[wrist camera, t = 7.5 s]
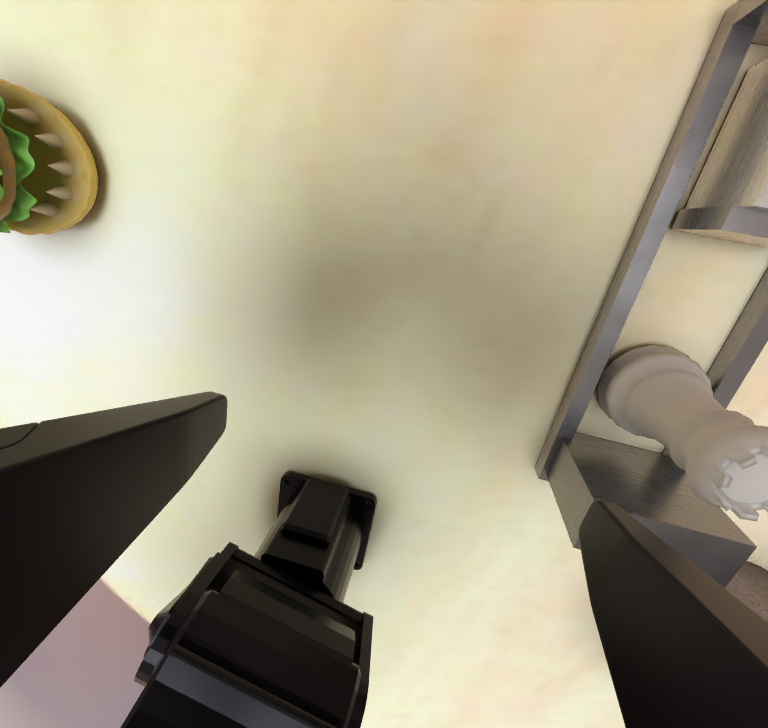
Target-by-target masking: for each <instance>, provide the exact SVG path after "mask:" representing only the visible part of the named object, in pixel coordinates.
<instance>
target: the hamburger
mask: <svg viewBox="0 0 768 728" xmlns="http://www.w3.org/2000/svg"><path fill="white" fill-rule="evenodd" d="M97 191H98V173H97V169H96V165H95V161H94V158H93V155H92V153H91V151H90V149H89V147H88V145H87V144H86V142H85V140H84V138H83V137H82V135H81V134H80V133H79V131H78V130H77V129H76V128H75V126H74V125H73V124H72V123H71V122H70V121H69V120H68V119H67V118H66V116H65V115H64V114H63V113H61V112H60V111H59V110H57V109H56V108H55V107H54V106H53V105H51V104H50V103H49V102H48V101H47V100H45V99H43V98H42V97H40V96H38V95H35V94H33V93H31V92H30V91H28V90H26V89H25V88H23V87H21V86H18V85H15V84H10V83H8V82H6V81H4V80H2V79H0V232H5V233H10V230H14V231H17V232H20V233H23V234H27V235H37V234H52V233H55V232H57V231H61V230H64V229H68V228H70V227H72V226H73V225H75V224H76V223H78V222H80V221H81V220H82V219H83V218H84V217H85V216H86V215H87V213H88V212H89V211H90V210H91V208H92V207H93V205H94V202H95V200H96V195H97Z"/></svg>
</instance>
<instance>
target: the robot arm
mask: <svg viewBox="0 0 768 728" xmlns="http://www.w3.org/2000/svg"><path fill="white" fill-rule="evenodd" d="M226 419H227V398H226V397H225V396H224V395H222V394H218V393H215V392H204V393H198V394H193V395H187V396H181V397H176V398H170V399H165V400H159V401H153V402H148V403H142V404H137V405H131V406H125V407H120V408H114V409H109V410H103V411H97V412H92V413H86V414H81V415H75V416H69V417H64V418H58V419H53V420H47V421H42V422H40V423H39V424H38V423H30V424H24V425H19V426H13V427H7V428H1V429H0V687H1V686H2V685H3V684H4V683H5V682H6V681H7V680H8V678H9V677H10V676H11V675H12V674H13V673H14V672H15V671H16V670H17V669H18V668H19V666H20V665H21V664H22V663H23V662H24V661H25V660H26V659H27V658H28V657H29V655H30V654H31V653H32V652H33V651H34V650H35V649H36V648H37V647H38V646H39V644H40V643H41V642H42V641H43V640H44V639H45V638H46V637H47V636H48V635H49V633H50V632H51V631H52V630H53V629H54V628H55V627H56V626H57V625H58V623H59V622H60V621H61V620H62V619H63V618H64V617H65V616H66V615H67V614H68V612H69V611H70V610H71V609H72V608H73V607H74V606H75V605H76V604H77V603H78V601H79V600H80V599H81V598H82V597H83V596H84V595H85V594H86V593H87V592H88V591H89V589H90V588H91V587H92V586H93V585H94V584H95V583H96V582H97V581H98V580H99V578H100V577H101V576H102V575H103V574H104V573H105V572H106V571H107V570H108V569H109V567H110V566H111V565H112V564H113V563H114V562H115V561H116V560H117V559H118V558H119V556H120V555H121V554H122V553H123V552H124V551H125V550H126V549H127V548H128V547H129V545H130V544H131V543H132V542H133V541H134V540H135V539H136V538H137V537H138V536H139V534H140V533H141V532H142V531H143V530H144V529H145V528H146V527H147V526H148V525H149V523H150V522H151V521H152V520H153V519H154V518H155V517H156V516H157V515H158V514H159V512H160V511H161V510H162V509H163V508H164V507H165V506H166V505H167V504H168V503H169V501H170V500H171V499H172V498H173V497H174V496H175V495H176V494H177V493H178V492H179V490H180V489H181V488H182V487H183V486H184V485H185V484H186V482H187V481H188V480H189V479H190V477H191V476H192V475H193V474H194V472H195V471H196V470H197V468H198V467H199V465H200V464H201V463H202V461H203V460H204V459H205V457H206V456H207V455H208V453H209V452H210V451H211V449H212V448H213V446H214V445H215V444H216V442H217V441H218V440H219V438H220V437H221V436H222V434H223V432H224V430H225V427H226ZM288 479H290V480H291V481H289V480H288ZM366 501H369V502H371V503H367V502H366ZM376 504H377V499H376V497H375V496H373V495H371V494H368V493H364V492H361V491H357V490H354V489H350V488H347V487H343V486H339V485H336V484H332V483H329V482H325V481H322V480H318V479H314V478H311V477H307V476H304V475H300V474H297V473H293V472H286V473H285V474H284V475H283V476H282V478H281V483H280V493H279V504H278V515H277V520H276V521H275V523H274V524H273V526H272V528H271V529H270V531H269V533H268V534H267V536H266V538H265V539H264V541H263V542H262V544H261V546H260V547H259V549H258V551H257V552H256V554H255V556H252V555H250V554H248V553H246V552H244V551H242V550H240V549H238V548H239V546H237V545H235V544H233V543H231V542H229V544H228V545H227V546H226V547H225V548H224V550H223V551H222V552H221V553H219V552H218V553H217V554H216V555H215V556H214V557H211V558H209V559H208V561H207V562H206V563H205V565H204V566H203V567H202V569H201V570H200V571H199V573H198V574H197V575H196V577H195V578H194V579H193V581H192V582H191V583H190V584H189V585H188V586H187V587H186V588H185V589H184V590H183V591H182V592H181V593H180V594H179V595H178V596H177V597H176V598H174V599H173V600H172V601H171V602H170V603H169V604H168V605H167V606H166V607H165V608H164V609H163V610H161V611H160V612H159V613H158V614H157V615H156V617H155V618H154V619H153V621H152V623H151V624H150V626H149V646H148V648H147V650H146V652H145V654H144V659H143V661H142V663H141V665H140V667H139V669H138V671H137V673H136V676H135V680H134V681H135V682H137V683H140V684H141V685H143V686H145V688H144V690H143V691H142V693H141V695H140V696H139V698H138V700H137V701H136V703H135V705H134V706H133V708H132V710H131V711H130V713H129V715H128V716H127V718H126V720H125V721H124V723H123V724H122V726H121V728H360V726H361V723H362V719H363V715H364V711H365V706H366V700H367V694H368V686H369V671H370V656H371V641H372V627H373V616H371V615H369V614H367V613H366V612H363V613H361V612H359V611H358V610H356V609H354V608H352V607H350V606H348V605H346V604H344V603H343V601H344V598H345V595H346V591H347V588H348V584H349V581H350V578H351V574H352V571H353V569H355V570H359V569H361V568H362V565H363V562H364V557H365V553H366V548H367V544H368V539H369V535H370V531H371V526H372V522H373V517H374V513H375V509H376ZM579 541H580V547H581V553H582V558H583V564H584V570H585V575H586V581H587V587H588V592H589V597H590V602H591V606H592V610H593V614H594V618H595V621H596V625H597V628H598V632H599V635H600V639H601V642H602V646H603V649H604V653H605V656H606V660H607V664H608V667H609V671H610V674H611V678H612V681H613V685H614V688H615V692H616V695H617V699H618V702H619V706H620V709H621V713H622V716H623V720H624V724H625V727H626V728H768V622H767V621H766V620H765V619H764V618H762V617H761V616H760V615H758V614H757V613H756V612H755V611H753V610H752V609H751V608H749V607H748V606H747V605H746V604H744V603H743V602H742V601H740V600H739V599H738V598H737V597H735V596H734V595H733V594H731V593H730V592H729V591H727V590H726V589H725V588H724V587H722V586H721V585H720V584H718V583H717V582H716V581H715V580H713V579H712V578H711V577H709V576H708V575H707V574H706V573H704V572H703V571H702V570H700V569H699V568H698V567H697V566H695V565H694V564H693V563H691V562H690V561H689V560H688V559H686V558H685V557H684V556H682V555H681V554H680V553H679V552H677V551H676V550H675V549H673V548H672V547H671V546H670V545H668V544H667V543H666V542H664V541H663V540H662V539H661V538H659V537H658V536H657V535H655V534H654V533H653V532H652V531H650V530H649V529H648V528H646V527H645V526H644V525H643V524H641V523H640V522H639V521H637V520H636V519H635V518H634V517H632V516H631V515H630V514H628V513H627V512H626V511H624V510H623V509H622V508H621V507H619V506H618V505H617V504H614V503H611V502H608V501H604V500H600V499H597V500H594V501H593V502H592V504H591V505H590V507H589V509H588V511H587V513H586V515H585V517H584V519H583V521H582V523H581V525H580V527H579Z"/></svg>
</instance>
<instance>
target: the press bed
mask: <svg viewBox="0 0 768 728" xmlns="http://www.w3.org/2000/svg"><path fill="white" fill-rule="evenodd" d="M751 43H756V44H763V45H768V0H739V1H737V2H736V3H735V4H734V5H732V6H731V7H730V8H729V9H727V10H726V12H725V14H724V16H723V19H722V21H721V24H720V26H719V28H718V31H717V33H716V36H715V38H714V40H713V43H712V45H711V48H710V50H709V52H708V55H707V57H706V60H705V62H704V64H703V67H702V69H701V71H700V74H699V76H698V79H697V81H696V83H695V86H694V88H693V91H692V93H691V95H690V98H689V100H688V103H687V105H686V107H685V110H684V112H683V114H682V117H681V119H680V122H679V124H678V126H677V129H676V131H675V134H674V136H673V138H672V141H671V143H670V146H669V148H668V150H667V153H666V155H665V157H664V160H663V162H662V165H661V167H660V169H659V172H658V174H657V177H656V179H655V181H654V184H653V186H652V189H651V191H650V193H649V196H648V198H647V200H646V203H645V205H644V208H643V210H642V212H641V215H640V217H639V220H638V222H637V224H636V227H635V229H634V232H633V234H632V236H631V239H630V241H629V243H628V246H627V248H626V251H625V253H624V255H623V258H622V260H621V263H620V265H619V267H618V270H617V272H616V275H615V277H614V279H613V282H612V284H611V286H610V289H609V291H608V294H607V296H606V298H605V301H604V303H603V306H602V308H601V310H600V313H599V315H598V318H597V320H596V322H595V325H594V327H593V329H592V332H591V334H590V337H589V339H588V341H587V344H586V346H585V349H584V351H583V353H582V356H581V358H580V361H579V363H578V365H577V368H576V370H575V372H574V375H573V377H572V380H571V382H570V384H569V387H568V389H567V392H566V394H565V396H564V399H563V401H562V404H561V406H560V408H559V411H558V413H557V415H556V418H555V420H554V423H553V425H552V427H551V430H550V432H549V435H548V437H547V439H546V442H545V444H544V447H543V449H542V451H541V454H540V456H539V458H538V461H537V463H536V466H535V470H536V473H537V476H538V478H539V479H543V480H547V481H549V483H550V485H551V488H552V491H553V493H554V496H555V499H556V502H557V504H558V507H559V510H560V512H561V515H562V518H563V521H564V523H565V526H566V529H567V531H568V534H569V537H570V540H571V542H572V545H573V548H577V549H580V550H581V547H580V541H579V527H580V525H581V523H582V521H583V519H584V517H585V515H586V513H587V511H588V509H589V507H590V505H591V504H592V502H593V501H594V500H597V499H600V500H604V501H608V502H611V503H614V504H617V505H618V506H619V507H621V508H622V509H623V510H624V511H626V512H627V513H628V514H630V515H631V516H632V517H634V518H635V519H636V520H637V521H639V522H640V523H641V524H643V525H644V526H645V527H646V528H648V529H649V530H650V531H652V532H653V533H654V534H655V535H657V536H658V537H659V538H661V539H662V540H663V541H664V542H666V543H667V544H668V545H670V546H671V547H672V548H673V549H675V550H676V551H677V552H679V553H680V554H681V555H682V556H684V557H685V558H686V559H688V560H689V561H690V562H691V563H693V564H694V565H695V566H697V567H698V568H699V569H700V570H702V571H703V572H704V573H706V574H707V575H708V576H709V577H711V578H712V579H713V580H715V581H716V582H717V583H718V584H720V585H721V586H722V587H724V588H725V587H726V586H727V585H728V583H729V582H730V581H731V579H732V578H733V577H734V576H735V574H736V573H737V572H738V570H739V569H740V568H741V567H742V565H743V564H744V563H745V562H746V560H747V559H748V558H749V556H750V555H751V554H752V553H753V551H754V550H755V549H756V545H755V544H754V543H753V542H752V541H751V540H750V539H749V538H748V537H747V536H746V535H745V534H744V533H743V532H742V531H741V530H740V528H739V527H738V526H737V525H736V524H735V523H734V522H733V521H732V520H731V519H730V518H729V517H728V516H727V515H726V514H725V513H724V511H723V510H722V509H721V508H720V507H717V506H712V505H710V504H708V503H706V502H705V501H703V500H701V499H699V498H697V497H696V496H695V495H694V493H693V492H692V490H691V489H690V488H689V486H688V485H687V480H686V471H685V470H683V469H681V468H679V467H678V466H677V465H676V464H675V462H674V461H673V459H672V458H671V457H670V450H669V449H668V448H667V447H665V449H664V451H663V453H662V454H660V453H656V452H652V451H648V450H644V449H640V448H636V447H632V446H628V445H624V444H620V443H616V442H612V441H608V440H604V439H600V438H596V437H592V436H588V435H584V434H580V433H576V430H577V428H578V426H579V423H580V421H581V419H582V417H583V415H584V412H585V410H586V408H587V406H588V403H589V401H590V399H591V397H592V395H593V392H594V390H595V388H596V386H597V383H598V381H599V379H600V377H601V375H602V372H603V370H604V368H605V366H606V363H607V361H608V359H609V357H610V355H611V352H612V350H613V348H614V346H615V343H616V341H617V339H618V337H619V335H620V332H621V330H622V328H623V326H624V323H625V321H626V319H627V317H628V315H629V312H630V310H631V308H632V306H633V304H634V301H635V299H636V297H637V295H638V292H639V290H640V288H641V286H642V284H643V281H644V279H645V277H646V275H647V272H648V270H649V268H650V266H651V264H652V261H653V259H654V257H655V255H656V252H657V250H658V248H659V246H660V244H661V241H662V239H663V237H664V235H665V232H666V230H667V228H668V226H669V224H670V221H671V219H672V217H673V215H674V212H675V210H676V208H677V206H678V204H679V201H680V199H681V197H682V195H683V193H684V190H685V188H686V186H687V184H688V181H689V179H690V177H691V175H692V173H693V170H694V168H695V166H696V164H697V161H698V159H699V157H700V155H701V153H702V150H703V148H704V146H705V144H706V141H707V139H708V137H709V135H710V133H711V130H712V128H713V126H714V124H715V121H716V119H717V117H718V115H719V113H720V110H721V108H722V106H723V104H724V101H725V99H726V97H727V95H728V93H729V90H730V88H731V86H732V84H733V82H734V79H735V77H736V75H737V73H738V70H739V68H740V66H741V64H742V62H743V59H744V57H745V55H746V53H747V50H748V48H749V46H750V44H751ZM767 341H768V269H767V271H766V272H765V274H764V276H763V278H762V279H761V281H760V283H759V285H758V286H757V288H756V290H755V292H754V293H753V295H752V297H751V299H750V300H749V302H748V304H747V306H746V307H745V309H744V311H743V313H742V314H741V316H740V318H739V320H738V321H737V323H736V325H735V327H734V328H733V330H732V332H731V334H730V335H729V337H728V339H727V341H726V342H725V344H724V346H723V348H722V349H721V351H720V353H719V355H718V356H717V358H716V360H715V362H714V363H713V365H712V367H711V369H710V370H709V372H708V374H707V377H708V378H709V380H710V381H711V389H712V391H713V398H714V399H715V400H716V401H717V402H718V403H719V404H720V405H721V406H722V407H723V408H724V409H726V408H727V406H728V404H729V403H730V401H731V399H732V398H733V396H734V395H735V393H736V391H737V390H738V388H739V386H740V385H741V383H742V382H743V380H744V378H745V377H746V375H747V373H748V372H749V370H750V369H751V367H752V365H753V364H754V362H755V361H756V359H757V357H758V356H759V354H760V352H761V351H762V349H763V348H764V346H765V344H766V343H767Z"/></svg>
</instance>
